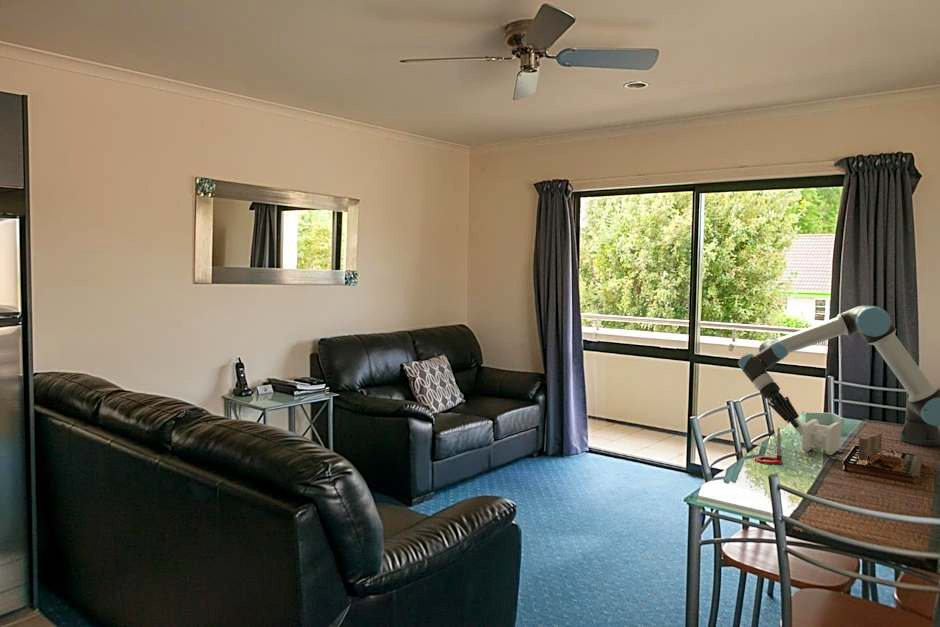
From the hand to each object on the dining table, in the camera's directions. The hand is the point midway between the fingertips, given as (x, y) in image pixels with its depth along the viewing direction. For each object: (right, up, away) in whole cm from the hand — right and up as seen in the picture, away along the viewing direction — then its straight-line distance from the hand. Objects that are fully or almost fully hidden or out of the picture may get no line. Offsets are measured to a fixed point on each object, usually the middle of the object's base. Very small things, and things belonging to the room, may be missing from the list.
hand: (804, 433), depth 275 cm
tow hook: (-23, -8, -18) cm, 30 cm away
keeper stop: (+12, -7, -14) cm, 20 cm away
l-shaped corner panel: (+24, -5, +31) cm, 39 cm away
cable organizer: (+4, -7, -4) cm, 9 cm away
